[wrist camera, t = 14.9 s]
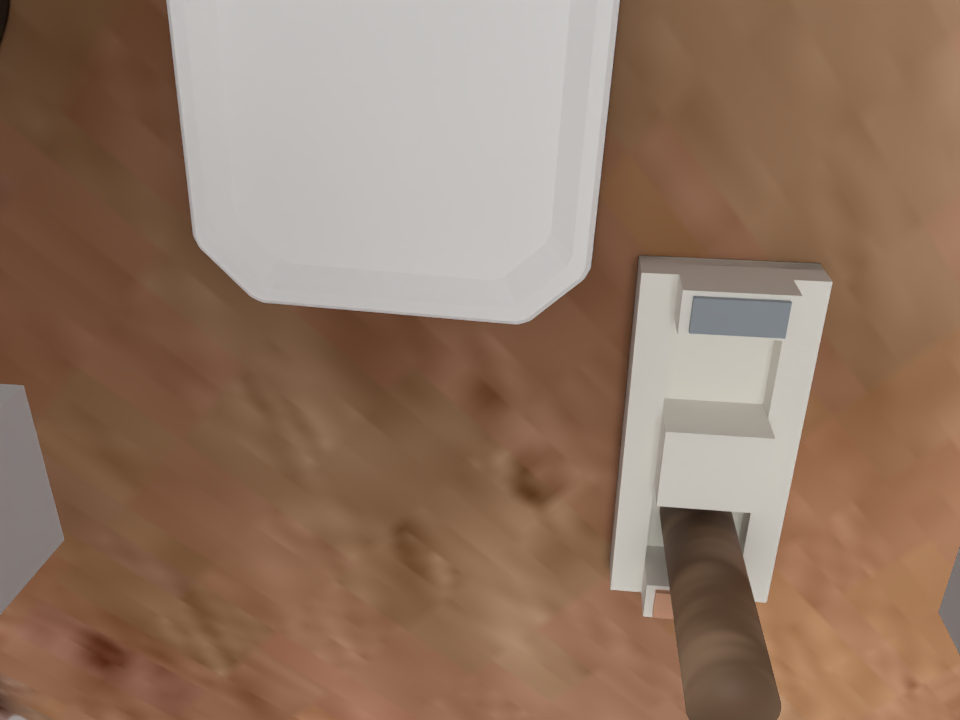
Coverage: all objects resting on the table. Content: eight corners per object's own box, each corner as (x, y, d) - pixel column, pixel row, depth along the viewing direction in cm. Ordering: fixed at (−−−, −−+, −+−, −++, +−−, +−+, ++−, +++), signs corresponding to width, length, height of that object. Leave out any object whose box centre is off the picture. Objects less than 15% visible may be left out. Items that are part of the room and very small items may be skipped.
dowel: (656, 537, 51) (681, 735, 38) (662, 481, 49) (690, 669, 37) (725, 542, 50) (773, 743, 38) (734, 485, 49) (787, 677, 36)
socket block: (609, 561, 53) (611, 617, 49) (638, 255, 44) (644, 290, 40) (759, 573, 52) (773, 631, 48) (820, 263, 43) (845, 300, 39)
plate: (168, -144, 39) (146, -147, 37) (631, -123, 37) (634, -126, 35) (213, 283, 48) (197, 299, 46) (584, 315, 46) (584, 332, 44)
